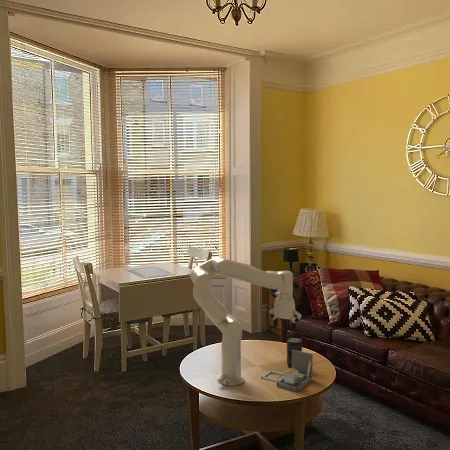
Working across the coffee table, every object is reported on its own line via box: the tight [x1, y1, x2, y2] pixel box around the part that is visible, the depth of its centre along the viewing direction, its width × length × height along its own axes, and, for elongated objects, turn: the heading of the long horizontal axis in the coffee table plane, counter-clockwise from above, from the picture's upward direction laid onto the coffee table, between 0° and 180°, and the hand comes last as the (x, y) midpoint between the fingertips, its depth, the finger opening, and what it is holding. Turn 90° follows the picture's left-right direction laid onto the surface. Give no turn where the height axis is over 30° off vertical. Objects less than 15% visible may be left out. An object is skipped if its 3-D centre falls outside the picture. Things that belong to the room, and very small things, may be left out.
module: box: [283, 367, 298, 387], centre depth 232 cm, size 5×5×8 cm
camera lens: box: [286, 337, 303, 369], centre depth 256 cm, size 8×8×15 cm
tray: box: [260, 370, 284, 383], centre depth 243 cm, size 10×10×1 cm
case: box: [276, 350, 314, 393], centre depth 235 cm, size 17×11×14 cm, turn 147°
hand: (284, 328), depth 246 cm, fingers open, 9 cm apart
